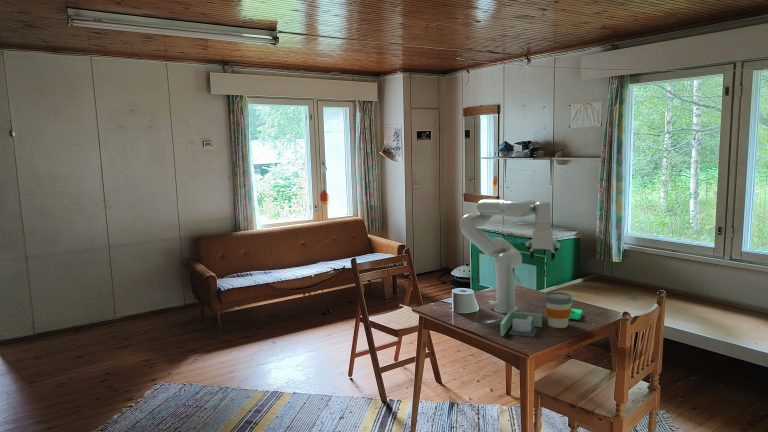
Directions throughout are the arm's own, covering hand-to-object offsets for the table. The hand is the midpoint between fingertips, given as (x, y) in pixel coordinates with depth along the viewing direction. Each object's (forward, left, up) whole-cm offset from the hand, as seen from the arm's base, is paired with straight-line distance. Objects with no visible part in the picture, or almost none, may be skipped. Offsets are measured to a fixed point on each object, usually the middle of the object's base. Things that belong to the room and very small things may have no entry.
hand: (542, 259), depth 268 cm
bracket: (-5, -23, -30) cm, 38 cm away
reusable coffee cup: (+9, -9, -31) cm, 33 cm away
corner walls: (-6, -23, -30) cm, 39 cm away
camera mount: (+14, +6, -31) cm, 34 cm away
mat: (-5, -24, -30) cm, 39 cm away
